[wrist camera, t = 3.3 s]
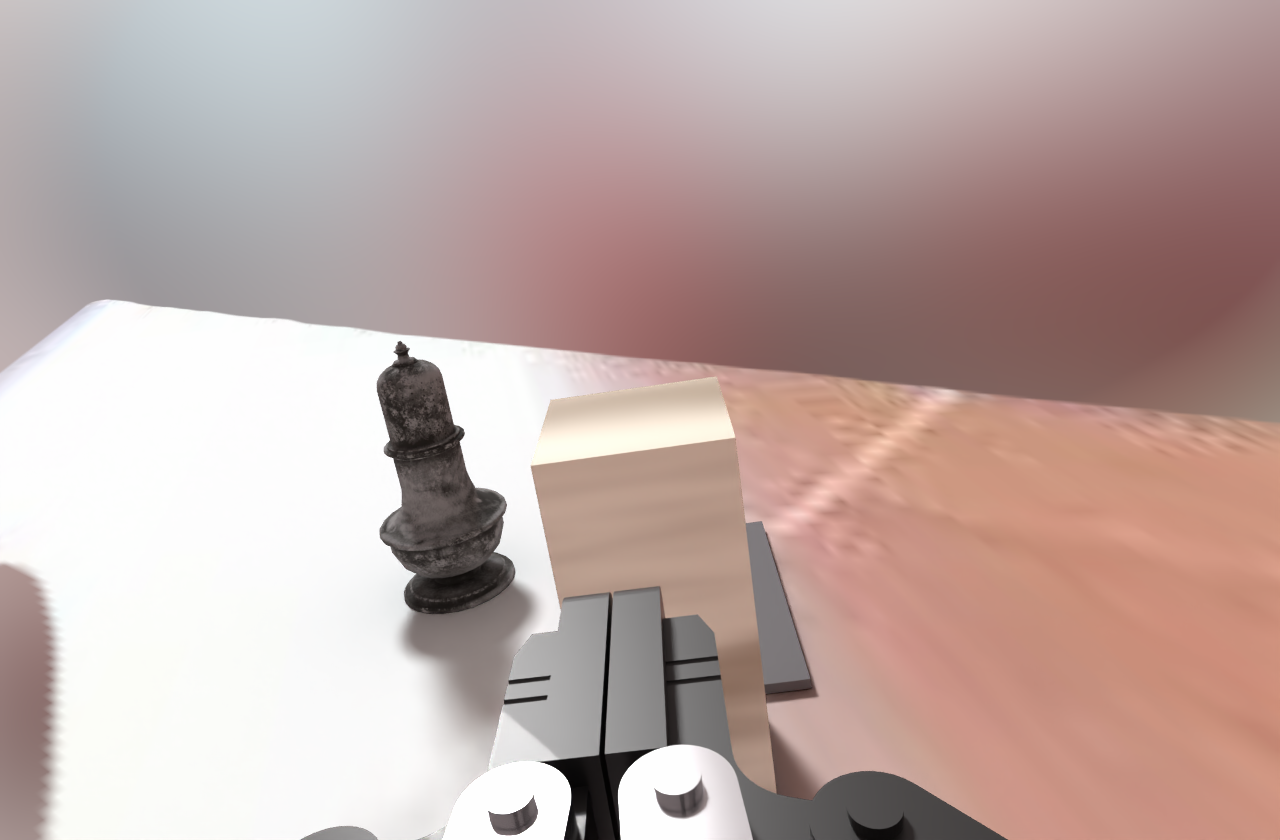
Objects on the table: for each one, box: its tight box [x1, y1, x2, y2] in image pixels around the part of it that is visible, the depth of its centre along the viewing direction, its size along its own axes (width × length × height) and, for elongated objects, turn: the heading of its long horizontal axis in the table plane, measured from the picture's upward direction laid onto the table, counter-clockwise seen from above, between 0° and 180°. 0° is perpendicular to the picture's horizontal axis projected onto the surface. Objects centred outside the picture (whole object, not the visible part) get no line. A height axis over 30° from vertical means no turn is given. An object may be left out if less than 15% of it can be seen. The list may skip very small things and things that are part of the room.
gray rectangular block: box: [745, 521, 811, 694], centre depth 35 cm, size 12×9×1 cm
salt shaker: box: [377, 341, 515, 614], centre depth 38 cm, size 6×6×12 cm
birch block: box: [531, 377, 777, 794], centre depth 24 cm, size 5×5×12 cm
